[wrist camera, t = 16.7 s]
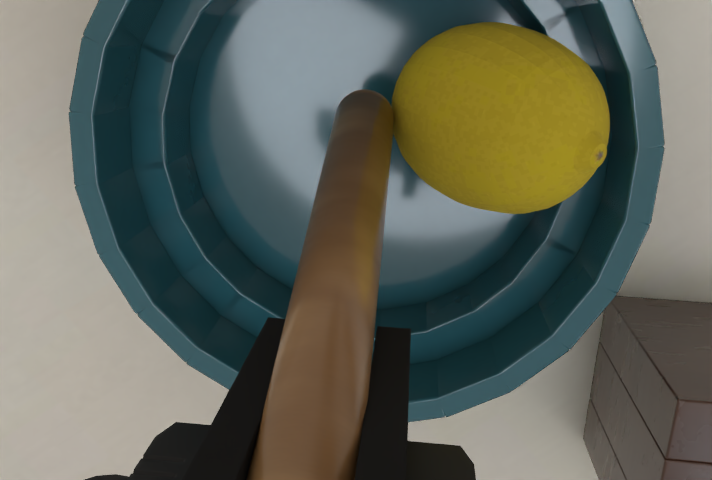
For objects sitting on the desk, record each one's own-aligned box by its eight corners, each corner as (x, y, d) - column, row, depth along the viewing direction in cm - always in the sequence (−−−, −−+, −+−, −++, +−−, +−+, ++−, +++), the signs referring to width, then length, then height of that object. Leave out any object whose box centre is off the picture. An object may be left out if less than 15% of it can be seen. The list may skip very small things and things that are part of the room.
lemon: (481, 13, 24) (689, 56, 19) (449, 161, 26) (628, 241, 21) (358, -4, 21) (563, 42, 15) (332, 167, 23) (506, 264, 17)
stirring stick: (333, 125, 22) (81, 1177, 6) (343, 74, 21) (64, 1193, 5) (388, 136, 22) (278, 1205, 6) (401, 85, 21) (305, 1225, 5)
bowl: (134, -128, 24) (44, -176, 18) (647, -112, 23) (721, -158, 17) (155, 328, 29) (91, 401, 24) (572, 363, 28) (610, 449, 22)
